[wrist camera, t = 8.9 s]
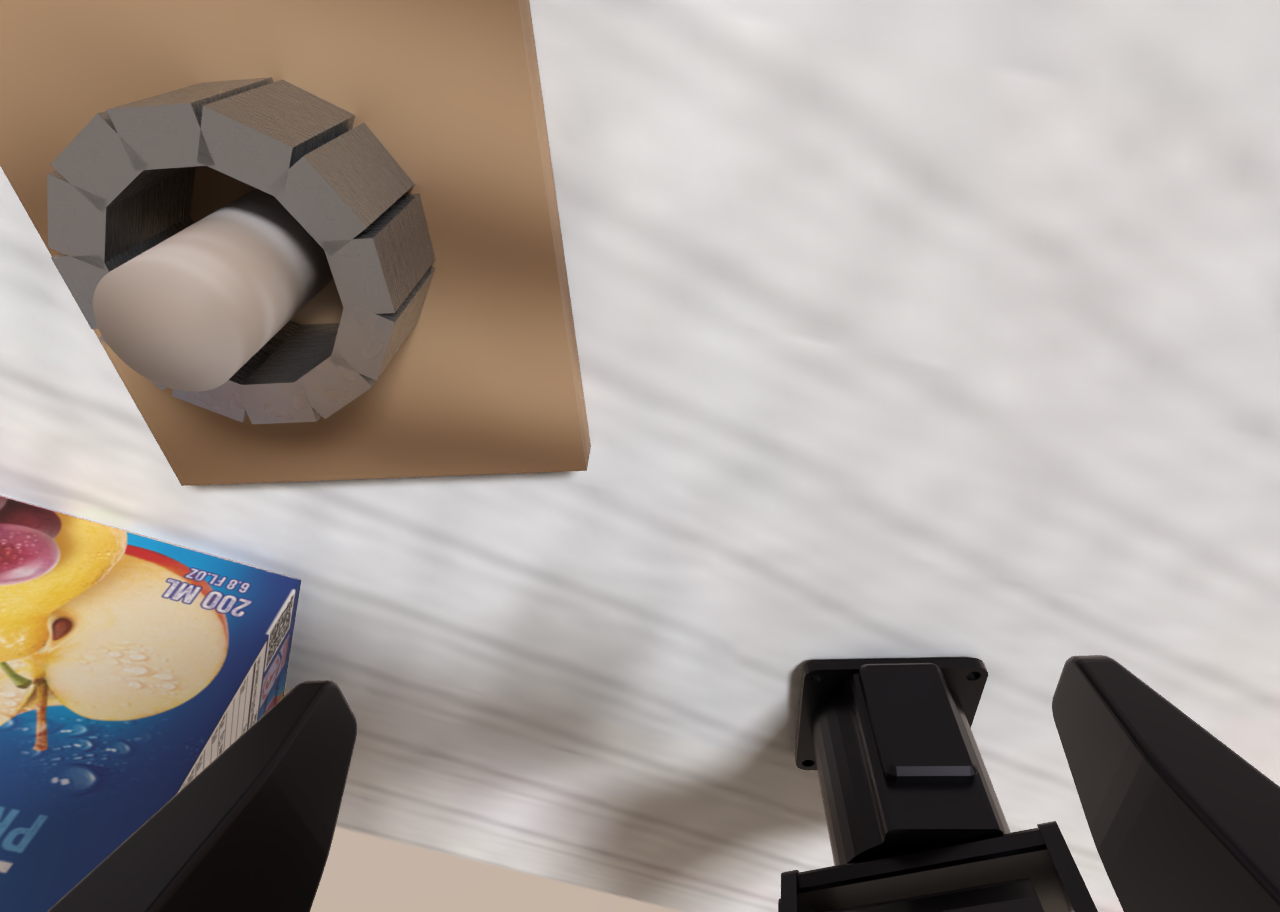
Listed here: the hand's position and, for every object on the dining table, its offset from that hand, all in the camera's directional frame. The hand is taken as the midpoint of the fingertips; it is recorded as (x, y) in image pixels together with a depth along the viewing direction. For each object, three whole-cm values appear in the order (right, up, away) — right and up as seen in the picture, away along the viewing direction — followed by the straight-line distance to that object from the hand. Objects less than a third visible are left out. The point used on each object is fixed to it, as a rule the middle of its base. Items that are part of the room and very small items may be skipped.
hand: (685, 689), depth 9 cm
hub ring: (-9, +8, +7) cm, 14 cm away
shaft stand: (-8, +9, +8) cm, 15 cm away
